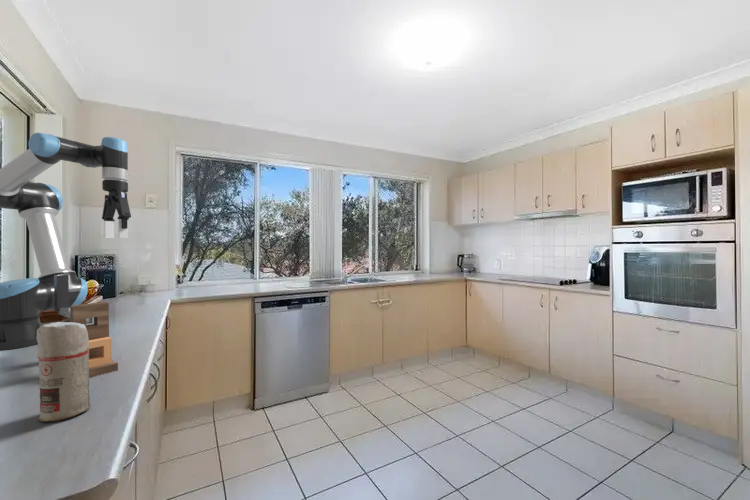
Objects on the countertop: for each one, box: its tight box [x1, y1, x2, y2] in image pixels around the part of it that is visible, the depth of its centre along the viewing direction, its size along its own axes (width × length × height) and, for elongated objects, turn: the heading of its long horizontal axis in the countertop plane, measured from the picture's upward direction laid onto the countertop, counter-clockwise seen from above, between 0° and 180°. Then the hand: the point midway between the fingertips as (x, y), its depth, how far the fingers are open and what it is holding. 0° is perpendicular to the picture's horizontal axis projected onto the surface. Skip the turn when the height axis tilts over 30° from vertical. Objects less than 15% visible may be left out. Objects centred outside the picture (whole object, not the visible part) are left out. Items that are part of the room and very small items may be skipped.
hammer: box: [54, 274, 93, 325], centre depth 106 cm, size 28×3×13 cm, turn 56°
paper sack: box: [37, 321, 91, 422], centre depth 72 cm, size 8×8×20 cm
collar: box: [88, 336, 113, 367], centre depth 96 cm, size 2×7×7 cm, turn 146°
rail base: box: [61, 301, 119, 379], centre depth 101 cm, size 30×8×19 cm, turn 56°
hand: (116, 238), depth 124 cm, fingers open, 13 cm apart
